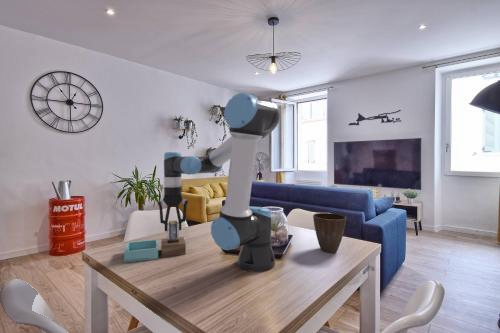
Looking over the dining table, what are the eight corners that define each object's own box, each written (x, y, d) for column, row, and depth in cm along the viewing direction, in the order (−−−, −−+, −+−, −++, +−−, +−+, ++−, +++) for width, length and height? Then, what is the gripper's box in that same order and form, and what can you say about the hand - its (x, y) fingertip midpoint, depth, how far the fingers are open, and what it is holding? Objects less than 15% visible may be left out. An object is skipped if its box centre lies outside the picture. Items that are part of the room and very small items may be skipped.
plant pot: (316, 243, 132) (316, 211, 131) (347, 247, 125) (347, 214, 125) (309, 252, 118) (310, 217, 118) (344, 258, 112) (344, 221, 111)
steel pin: (177, 252, 117) (177, 222, 117) (169, 253, 116) (169, 222, 115) (176, 250, 120) (176, 220, 120) (169, 251, 119) (168, 220, 119)
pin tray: (158, 258, 110) (158, 248, 110) (124, 262, 105) (124, 252, 105) (158, 248, 122) (157, 239, 122) (127, 252, 118) (127, 242, 118)
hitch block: (185, 254, 115) (185, 243, 115) (161, 257, 112) (161, 245, 112) (183, 247, 124) (183, 236, 124) (161, 249, 121) (161, 238, 121)
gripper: (190, 184, 124) (190, 233, 124) (153, 186, 118) (153, 237, 119) (192, 186, 116) (192, 238, 117) (153, 187, 111) (153, 242, 112)
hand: (173, 237), depth 118 cm, fingers closed on steel pin, 3 cm apart
